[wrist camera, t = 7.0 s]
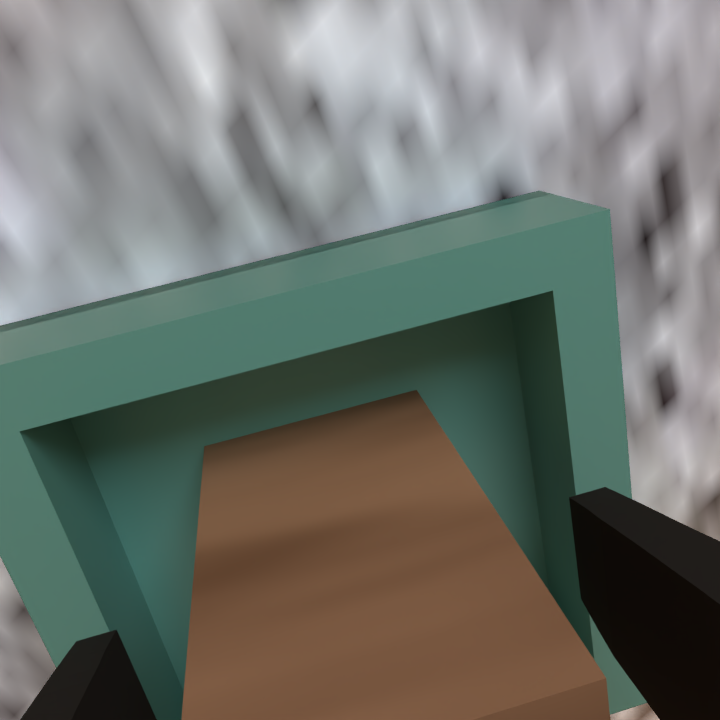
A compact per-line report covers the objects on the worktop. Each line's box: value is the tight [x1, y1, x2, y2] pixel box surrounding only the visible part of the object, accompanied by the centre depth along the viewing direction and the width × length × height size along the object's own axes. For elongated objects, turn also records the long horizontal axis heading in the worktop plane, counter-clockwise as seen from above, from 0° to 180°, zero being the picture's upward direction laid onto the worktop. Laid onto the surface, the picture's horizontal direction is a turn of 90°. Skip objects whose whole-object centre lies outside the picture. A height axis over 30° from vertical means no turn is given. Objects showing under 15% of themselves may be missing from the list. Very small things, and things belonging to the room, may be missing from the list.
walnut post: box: [181, 390, 610, 720], centre depth 10 cm, size 4×4×7 cm
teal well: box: [0, 191, 647, 720], centre depth 13 cm, size 10×10×2 cm
